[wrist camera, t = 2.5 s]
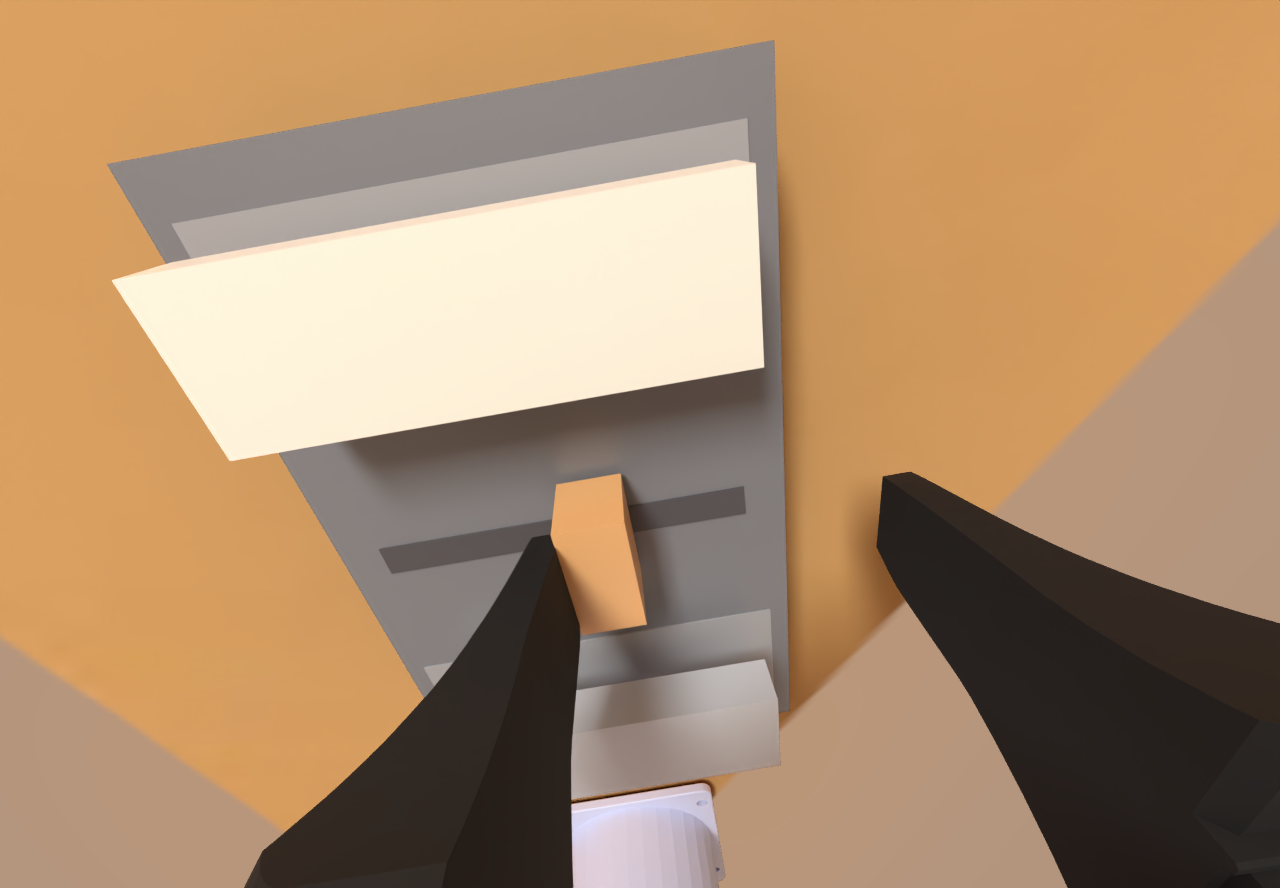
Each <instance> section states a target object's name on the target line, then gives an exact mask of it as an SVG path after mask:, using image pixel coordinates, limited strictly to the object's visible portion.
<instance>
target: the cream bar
mask: <svg viewBox="0 0 1280 888" xmlns="http://www.w3.org/2000/svg"><path fill="white" fill-rule="evenodd" d="M112 282H113V283H114V285H115V286H116V288H117V289H118V291H119V292H120V294H121V296H122V297H123V299H124V300H125V302H126V303H127V305H128V306H129V308H130V309H131V311H132V312H133V314H134V315H135V317H136V318H137V320H138V321H139V323H140V325H141V326H142V328H143V329H144V331H145V332H146V334H147V335H148V337H149V338H150V340H151V341H152V343H153V344H154V346H155V347H156V349H157V350H158V352H159V354H160V355H161V357H162V358H163V360H164V361H165V363H166V364H167V366H168V367H169V369H170V370H171V372H172V373H173V375H174V376H175V378H176V379H177V381H178V383H179V384H180V386H181V387H182V389H183V390H184V392H185V393H186V395H187V396H188V398H189V399H190V401H191V402H192V404H193V405H194V407H195V408H196V410H197V412H198V413H199V415H200V416H201V418H202V419H203V421H204V422H205V424H206V425H207V427H208V428H209V430H210V431H211V433H212V434H213V436H214V437H215V439H216V441H217V442H218V444H219V445H220V447H221V448H222V450H223V451H224V453H225V454H226V456H227V457H228V459H229V460H230V461H234V460H239V459H245V458H251V457H256V456H262V455H268V454H274V453H279V452H285V451H291V450H296V449H302V448H308V447H313V446H319V445H325V444H330V443H336V442H342V441H348V440H353V439H359V438H365V437H370V436H376V435H382V434H387V433H393V432H399V431H404V430H410V429H416V428H422V427H427V426H433V425H439V424H444V423H450V422H456V421H461V420H467V419H473V418H478V417H484V416H490V415H496V414H501V413H507V412H513V411H518V410H524V409H530V408H535V407H541V406H547V405H553V404H558V403H564V402H570V401H575V400H581V399H587V398H592V397H598V396H604V395H609V394H615V393H621V392H627V391H632V390H638V389H644V388H649V387H655V386H661V385H666V384H672V383H678V382H683V381H689V380H695V379H701V378H706V377H712V376H718V375H723V374H729V373H735V372H740V371H746V370H752V369H758V368H763V367H764V351H763V327H762V303H761V279H760V254H759V230H758V206H757V182H756V163H752V162H746V161H741V160H730V161H725V162H719V163H714V164H708V165H703V166H697V167H692V168H687V169H681V170H676V171H670V172H665V173H659V174H654V175H648V176H643V177H637V178H632V179H626V180H621V181H615V182H610V183H604V184H599V185H593V186H588V187H582V188H577V189H571V190H566V191H560V192H555V193H549V194H544V195H538V196H533V197H527V198H522V199H516V200H511V201H505V202H500V203H494V204H489V205H484V206H478V207H473V208H467V209H462V210H456V211H451V212H445V213H440V214H434V215H429V216H423V217H418V218H412V219H407V220H401V221H396V222H390V223H385V224H379V225H374V226H368V227H363V228H357V229H352V230H346V231H341V232H335V233H330V234H324V235H319V236H313V237H308V238H302V239H297V240H292V241H286V242H281V243H275V244H270V245H264V246H259V247H253V248H248V249H242V250H237V251H231V252H226V253H220V254H215V255H209V256H204V257H198V258H193V259H187V260H182V261H176V262H171V263H168V264H164V265H161V266H158V267H154V268H151V269H148V270H145V271H141V272H138V273H135V274H131V275H128V276H125V277H121V278H118V279H115V280H112Z"/></svg>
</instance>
